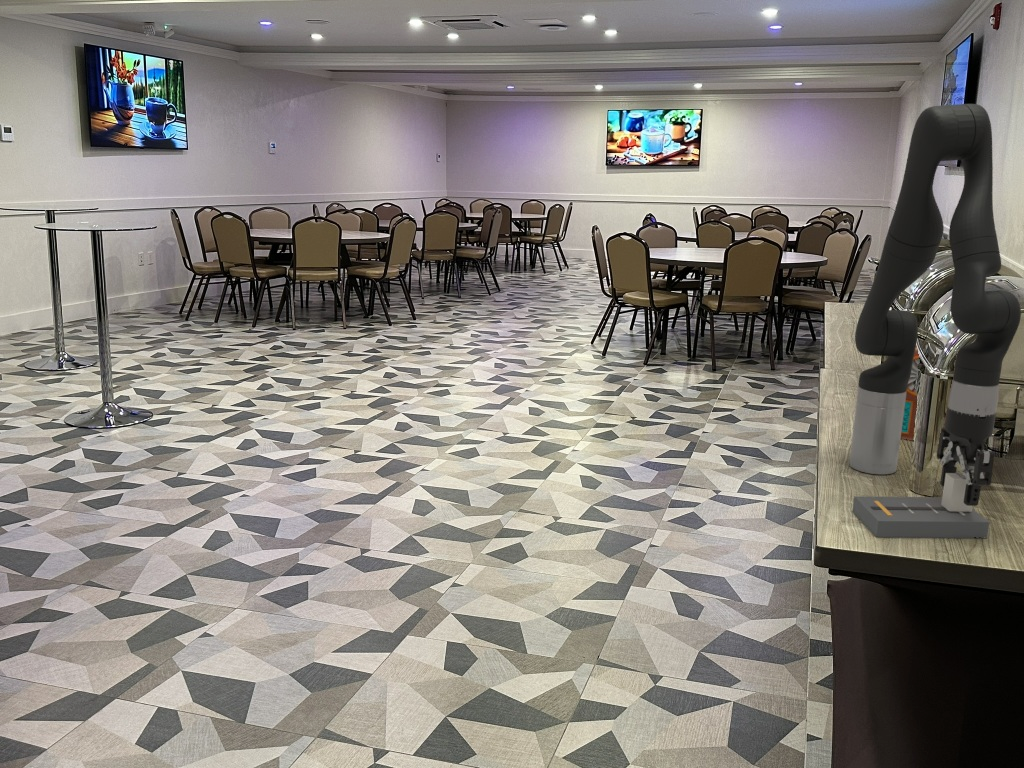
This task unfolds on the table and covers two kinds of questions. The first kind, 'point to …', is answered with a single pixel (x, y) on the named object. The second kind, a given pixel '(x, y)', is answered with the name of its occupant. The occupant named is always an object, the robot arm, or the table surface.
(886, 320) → the robot arm
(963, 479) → the fader
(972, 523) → the console
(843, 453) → the table surface
